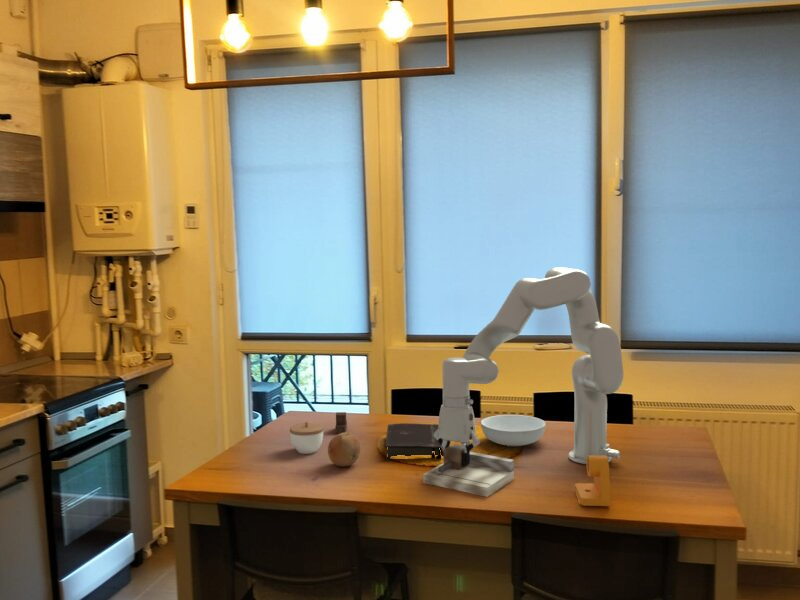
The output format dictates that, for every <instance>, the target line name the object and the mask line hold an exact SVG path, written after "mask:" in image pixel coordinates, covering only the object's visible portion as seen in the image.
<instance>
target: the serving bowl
mask: <svg viewBox="0 0 800 600" xmlns="http://www.w3.org/2000/svg"><path fill="white" fill-rule="evenodd" d="M480 426H481V430H482V433H483V434H484V437H486V438H487V439H488V440H490V441H491V442H493V443H496V444H498V445H503V446H505V445H509V446H508V447H523V446H526V445H530V444H534V443H536V442H537V441H539V440H540V439H541V438H542V436H543V435H544V433H545V430H546V421H544V420H543V419H541V418H538V417H534V416H530V415H521V414H498V415H493V416H488V417H485V418H483V419H482V420H480Z"/></svg>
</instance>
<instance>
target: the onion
mask: <svg viewBox="0 0 800 600" xmlns="http://www.w3.org/2000/svg"><path fill="white" fill-rule="evenodd" d="M360 454H361V445H360V442H359V440H358V439H357V438H356V437H355V436H354V435H353V434H351V433H350V432H348V431H346V432H345V433H340V434H335V436H333V437H332V438H331V440H330V441H329V443H328V446H327V455H328V458H329V460H330V461H331V463H333V464H334V465H335V466H337V467H340V468H344V467H349V466H352V465H353V464H355V463H356V462H357V460H358V459H359V457H360Z"/></svg>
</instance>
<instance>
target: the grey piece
mask: <svg viewBox="0 0 800 600" xmlns="http://www.w3.org/2000/svg"><path fill="white" fill-rule="evenodd" d="M442 465H444V462H443V463H441V464H439V465H437V466H436V467H434V468H432V469H429V470H428V471H426V472H425V473H423V474H422V476H423V478H422V479H423V480H422V482H423V484H427V485H432V486H435V487H441V488H444V489H450V490H453V491H454V490H455V491H459V492H464V493H467V494H472V495H477V496H482V497H486V498H488V497H489V495H490V496H491V495H493V494H495V492H497V491H498V490H500V489H502V488H503V487H504V486H506V485H507V484H509V483H510V482H512V481H513V480H515V460H514V459H511V458H506V457H500V456H494V455H489V454H485V453H479V452H474V451H470V462H469V464H468V465H466V466H464V467H463V468H461V469H454V468H449V469H448V470H446V471H444V472H443V473H441V472H439V471H438V468H439V467H440V466H442Z"/></svg>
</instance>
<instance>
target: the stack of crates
mask: <svg viewBox="0 0 800 600" xmlns="http://www.w3.org/2000/svg"><path fill="white" fill-rule="evenodd" d="M334 428H335V435H338V434H340V433H345V432H347V430H348V420H347V412H345V411H343V412H339V411H338V412H336V413H335V427H334Z"/></svg>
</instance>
